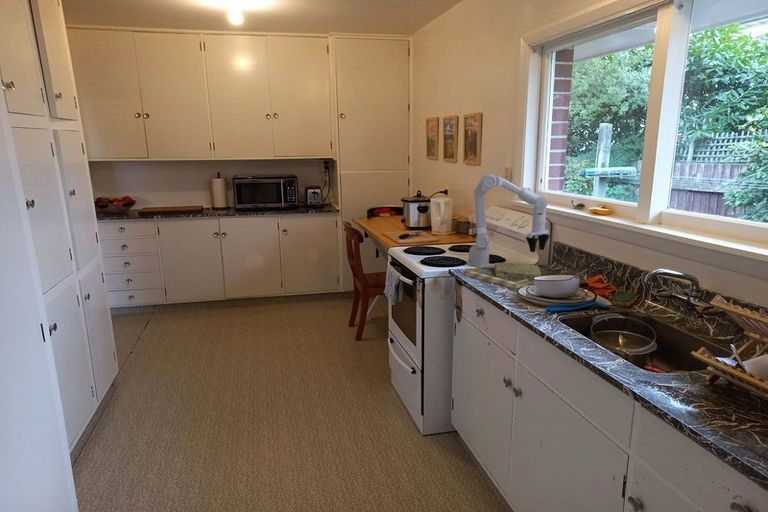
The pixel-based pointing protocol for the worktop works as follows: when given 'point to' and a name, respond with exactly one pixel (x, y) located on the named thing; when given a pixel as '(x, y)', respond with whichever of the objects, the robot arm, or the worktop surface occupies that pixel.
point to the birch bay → (494, 279)
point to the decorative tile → (516, 271)
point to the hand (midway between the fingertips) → (537, 250)
